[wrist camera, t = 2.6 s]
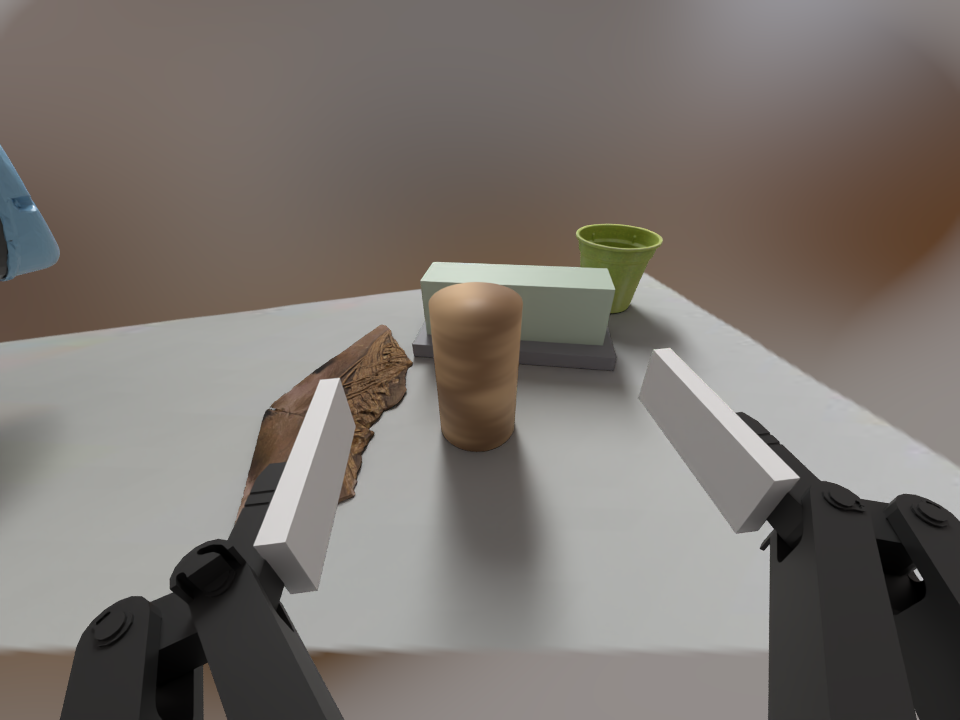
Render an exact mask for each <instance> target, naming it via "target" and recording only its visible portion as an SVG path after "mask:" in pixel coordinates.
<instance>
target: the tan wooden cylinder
mask: <svg viewBox="0 0 960 720" xmlns="http://www.w3.org/2000/svg"><path fill="white" fill-rule="evenodd" d="M522 309H523V301H522V298H521V296H520V295H519V294H518V293H517V292H515V291H514V290H512V289H510V288H508V287H505V286H502V285H499V284H494V283H486V282H467V283H460V284H455V285H451V286H448V287H445V288H443V289H441V290H439V291H437V292H436V293H435V294H434V295H433V296H432V297H431V298H430V300H429V314H430V324H431V333H432V343H433V353H434V362H435V372H436V382H437V391H438V401H439V411H440V420H441V429H442V432H443V435H444V436H445V438H446V439H447V440H448V441H449V442H450V443H451V444H453V445H454V446H456V447H458V448H460V449H463V450H467V451H474V452H480V451H488V450H492V449H494V448H497V447H499V446H501V445H502V444H504V443H505V442H506V441H507V440H508V439H509V438H510V436H511V435H512V433H513V430H514V423H515V408H516V394H517V380H518V366H519V351H520V337H521V323H522Z"/></svg>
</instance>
